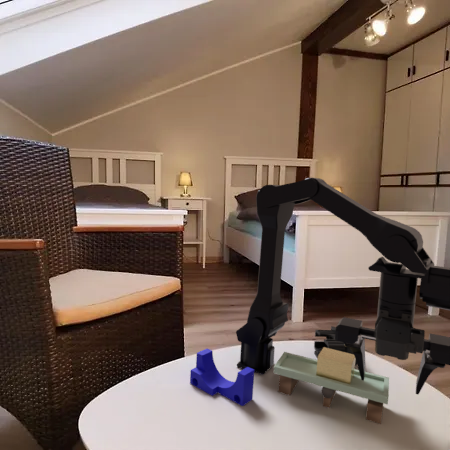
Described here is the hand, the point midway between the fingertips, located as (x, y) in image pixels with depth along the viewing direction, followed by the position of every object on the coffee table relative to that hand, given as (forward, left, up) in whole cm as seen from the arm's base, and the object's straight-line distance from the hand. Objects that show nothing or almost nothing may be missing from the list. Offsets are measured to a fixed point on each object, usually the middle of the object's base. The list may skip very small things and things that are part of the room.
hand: (389, 386), depth 64 cm
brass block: (-9, 0, -1) cm, 9 cm away
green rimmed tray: (-10, 0, -2) cm, 10 cm away
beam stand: (-10, 0, -6) cm, 11 cm away
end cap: (-12, +16, -6) cm, 21 cm away
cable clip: (-29, -9, -6) cm, 31 cm away
